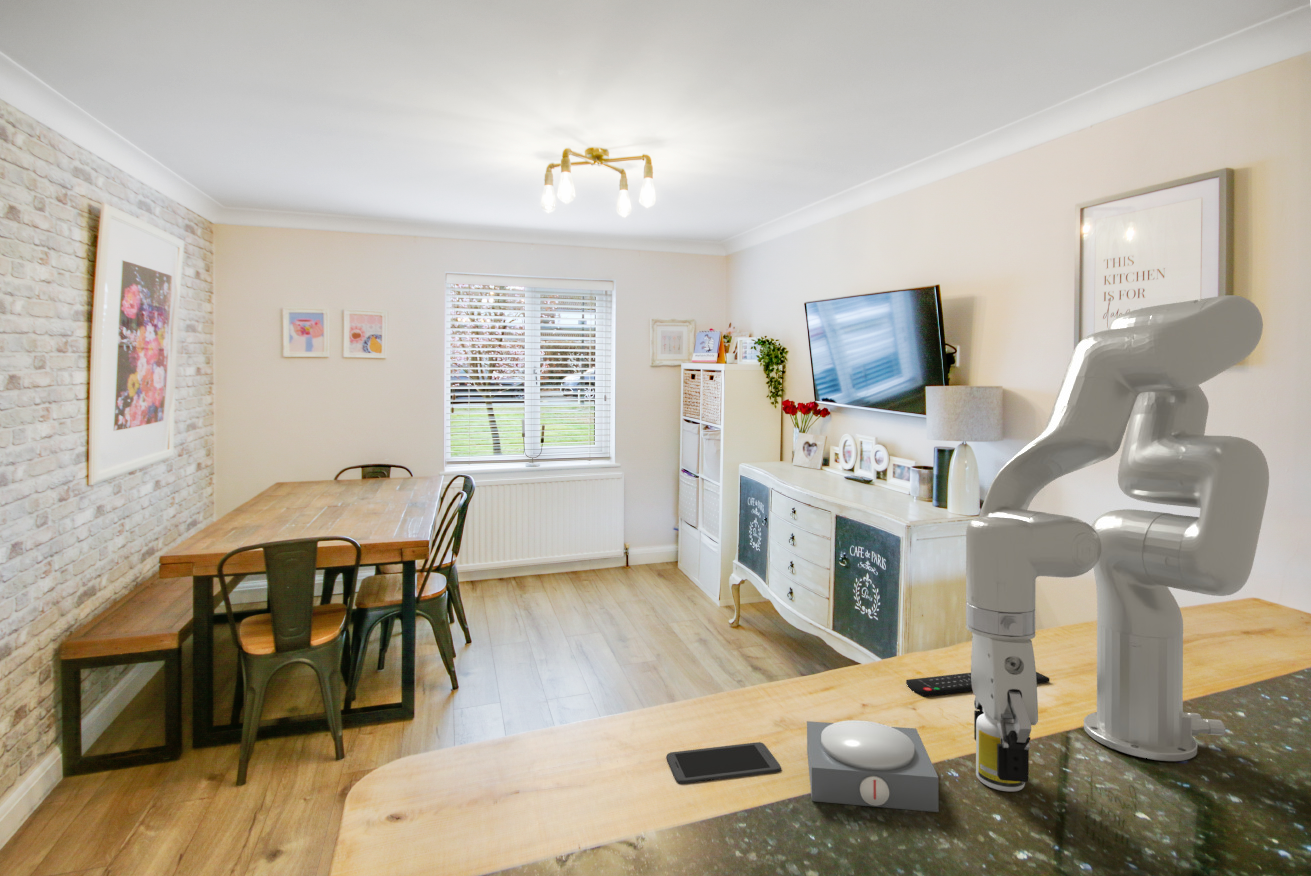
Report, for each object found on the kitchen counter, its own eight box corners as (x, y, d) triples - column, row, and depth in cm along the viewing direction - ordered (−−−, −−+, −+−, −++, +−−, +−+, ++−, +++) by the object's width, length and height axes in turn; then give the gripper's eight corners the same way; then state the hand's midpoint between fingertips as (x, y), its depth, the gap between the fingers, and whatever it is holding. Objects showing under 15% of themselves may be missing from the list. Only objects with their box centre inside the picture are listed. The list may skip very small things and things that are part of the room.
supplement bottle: (1032, 795, 78) (1032, 713, 77) (982, 790, 79) (982, 709, 78) (1016, 771, 83) (1016, 694, 83) (970, 767, 84) (970, 691, 84)
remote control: (1049, 685, 110) (1049, 677, 110) (922, 701, 105) (922, 692, 105) (1025, 674, 116) (1025, 666, 115) (903, 687, 110) (903, 679, 110)
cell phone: (783, 773, 84) (783, 768, 84) (677, 787, 81) (677, 781, 81) (763, 746, 91) (763, 741, 91) (664, 757, 88) (664, 752, 88)
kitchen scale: (916, 758, 86) (916, 722, 86) (939, 815, 74) (939, 773, 74) (807, 750, 89) (806, 715, 89) (812, 803, 76) (811, 763, 76)
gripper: (1064, 644, 71) (1063, 803, 71) (1008, 601, 88) (1008, 729, 89) (989, 641, 72) (989, 797, 73) (948, 599, 89) (948, 725, 90)
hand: (999, 759), depth 81 cm, fingers open, 8 cm apart
